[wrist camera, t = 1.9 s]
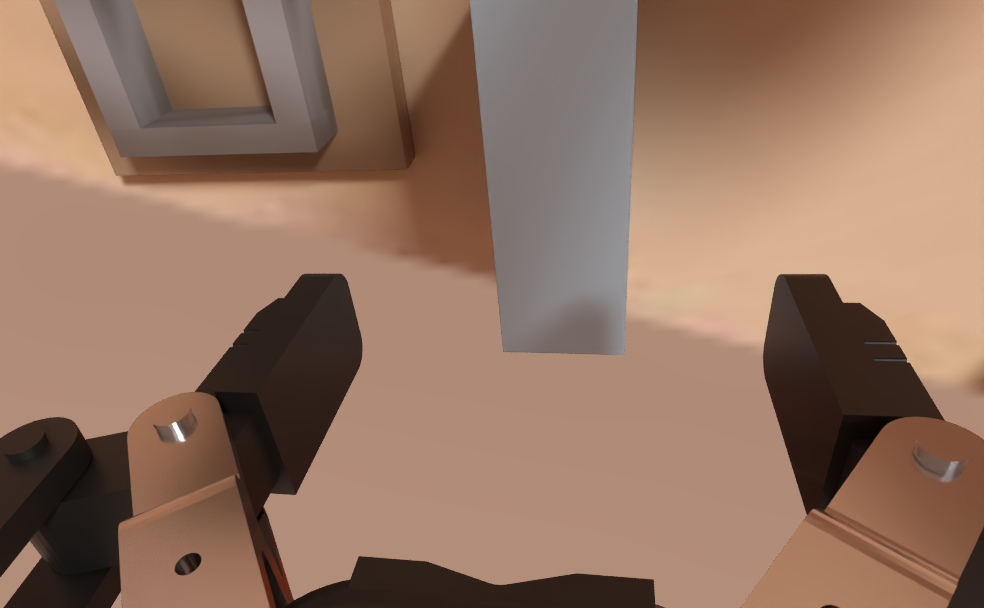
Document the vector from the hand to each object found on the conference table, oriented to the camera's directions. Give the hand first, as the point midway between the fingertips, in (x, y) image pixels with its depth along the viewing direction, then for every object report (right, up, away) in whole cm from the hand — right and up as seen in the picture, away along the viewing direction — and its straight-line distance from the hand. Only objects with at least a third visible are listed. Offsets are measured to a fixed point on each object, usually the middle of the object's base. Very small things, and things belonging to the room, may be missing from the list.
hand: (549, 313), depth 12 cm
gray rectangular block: (+2, +7, +10) cm, 13 cm away
